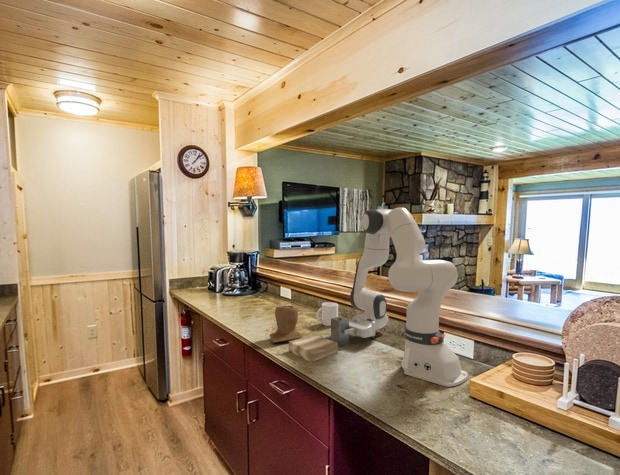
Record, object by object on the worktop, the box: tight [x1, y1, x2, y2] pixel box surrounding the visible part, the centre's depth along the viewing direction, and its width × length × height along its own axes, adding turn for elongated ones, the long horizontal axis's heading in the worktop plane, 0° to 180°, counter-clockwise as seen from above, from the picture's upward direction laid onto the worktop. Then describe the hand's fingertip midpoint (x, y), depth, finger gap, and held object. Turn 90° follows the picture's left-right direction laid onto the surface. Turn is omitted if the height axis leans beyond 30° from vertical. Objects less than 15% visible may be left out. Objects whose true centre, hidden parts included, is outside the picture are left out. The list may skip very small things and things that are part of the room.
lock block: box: [330, 314, 350, 348], centre depth 150 cm, size 5×6×12 cm
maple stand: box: [288, 334, 339, 363], centre depth 141 cm, size 14×14×4 cm
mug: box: [315, 301, 339, 327], centre depth 177 cm, size 12×8×10 cm
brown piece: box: [269, 305, 303, 344], centre depth 156 cm, size 15×12×15 cm
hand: (338, 330), depth 149 cm, fingers closed on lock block, 5 cm apart
